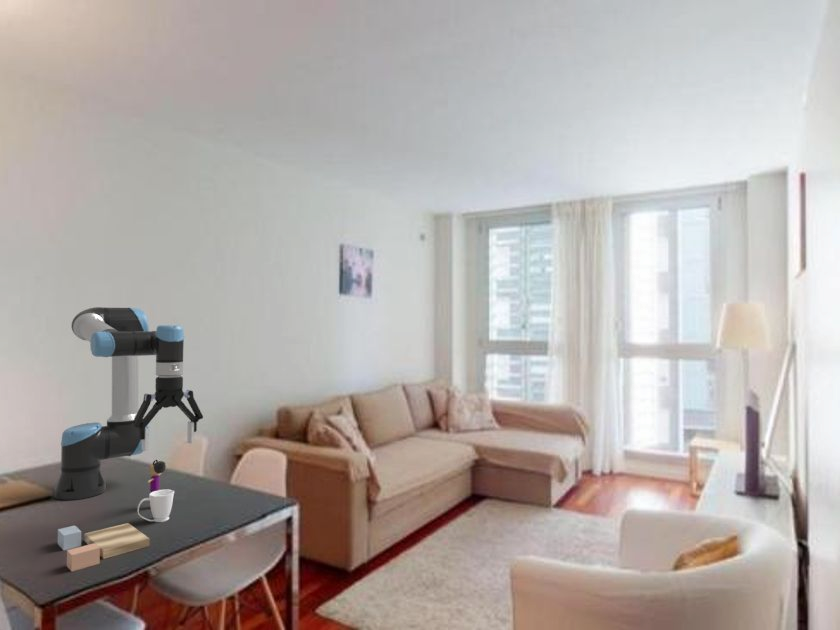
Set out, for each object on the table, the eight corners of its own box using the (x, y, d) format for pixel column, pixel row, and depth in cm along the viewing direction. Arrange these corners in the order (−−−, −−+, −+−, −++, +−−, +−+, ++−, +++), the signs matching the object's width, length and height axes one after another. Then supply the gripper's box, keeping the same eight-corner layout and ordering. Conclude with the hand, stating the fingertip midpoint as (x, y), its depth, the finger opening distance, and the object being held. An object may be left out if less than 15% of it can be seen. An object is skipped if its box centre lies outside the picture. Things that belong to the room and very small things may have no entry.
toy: (155, 501, 179) (155, 456, 179) (172, 501, 180) (172, 456, 180) (141, 512, 169) (142, 464, 169) (159, 512, 169) (160, 464, 170)
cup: (176, 520, 162) (176, 493, 162) (138, 527, 157) (139, 499, 157) (171, 513, 168) (172, 487, 168) (135, 520, 162) (136, 493, 163)
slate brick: (57, 544, 145) (57, 529, 145) (74, 540, 148) (75, 525, 148) (63, 551, 141) (63, 535, 141) (81, 546, 144) (81, 531, 144)
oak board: (84, 540, 147) (84, 533, 147) (127, 529, 155) (128, 522, 155) (103, 558, 136) (103, 550, 136) (149, 546, 144) (149, 538, 144)
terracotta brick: (71, 572, 129) (71, 555, 129) (66, 566, 132) (67, 550, 132) (99, 564, 133) (99, 547, 133) (94, 559, 136) (94, 543, 136)
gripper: (130, 379, 152) (128, 455, 151) (214, 374, 170) (213, 441, 170) (120, 378, 157) (119, 451, 156) (203, 372, 175) (202, 438, 175)
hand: (168, 446), depth 163 cm, fingers open, 13 cm apart
